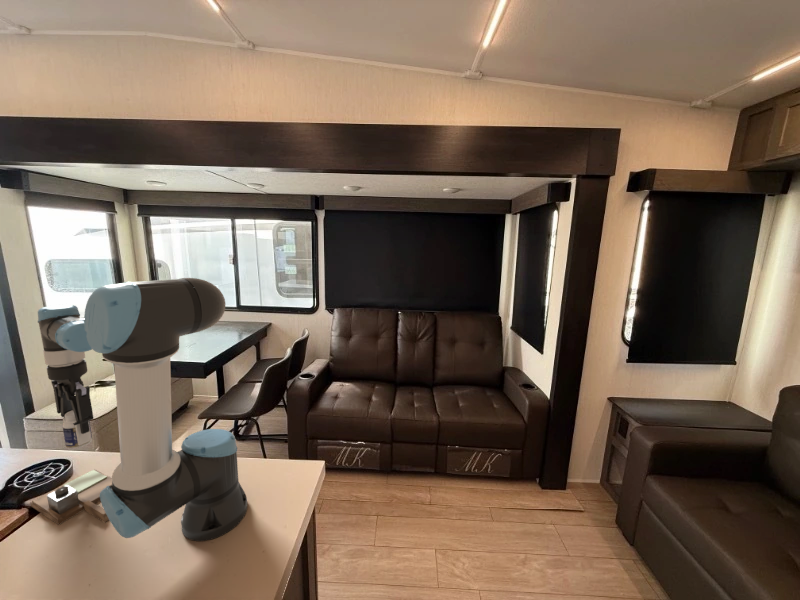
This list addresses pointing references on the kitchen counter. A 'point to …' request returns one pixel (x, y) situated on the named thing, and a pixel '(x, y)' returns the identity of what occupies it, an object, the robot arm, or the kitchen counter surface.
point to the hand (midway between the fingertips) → (79, 439)
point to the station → (87, 495)
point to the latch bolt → (63, 499)
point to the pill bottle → (71, 432)
